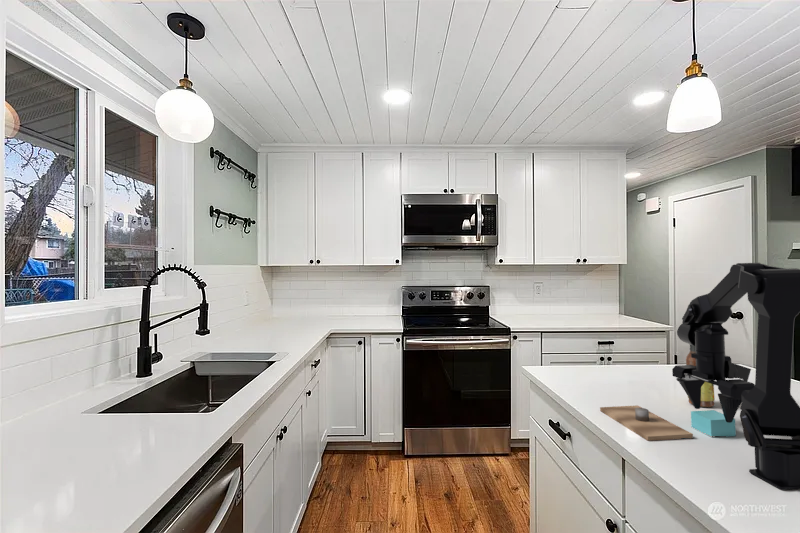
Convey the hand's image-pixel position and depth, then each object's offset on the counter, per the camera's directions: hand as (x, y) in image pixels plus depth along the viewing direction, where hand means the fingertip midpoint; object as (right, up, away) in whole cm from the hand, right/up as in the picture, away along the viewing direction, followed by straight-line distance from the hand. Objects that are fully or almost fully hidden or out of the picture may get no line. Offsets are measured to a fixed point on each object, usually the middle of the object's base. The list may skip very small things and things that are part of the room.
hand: (712, 415), depth 97 cm
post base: (-13, -5, +6) cm, 15 cm away
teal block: (0, -4, 0) cm, 4 cm away
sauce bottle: (+11, -4, +19) cm, 22 cm away
